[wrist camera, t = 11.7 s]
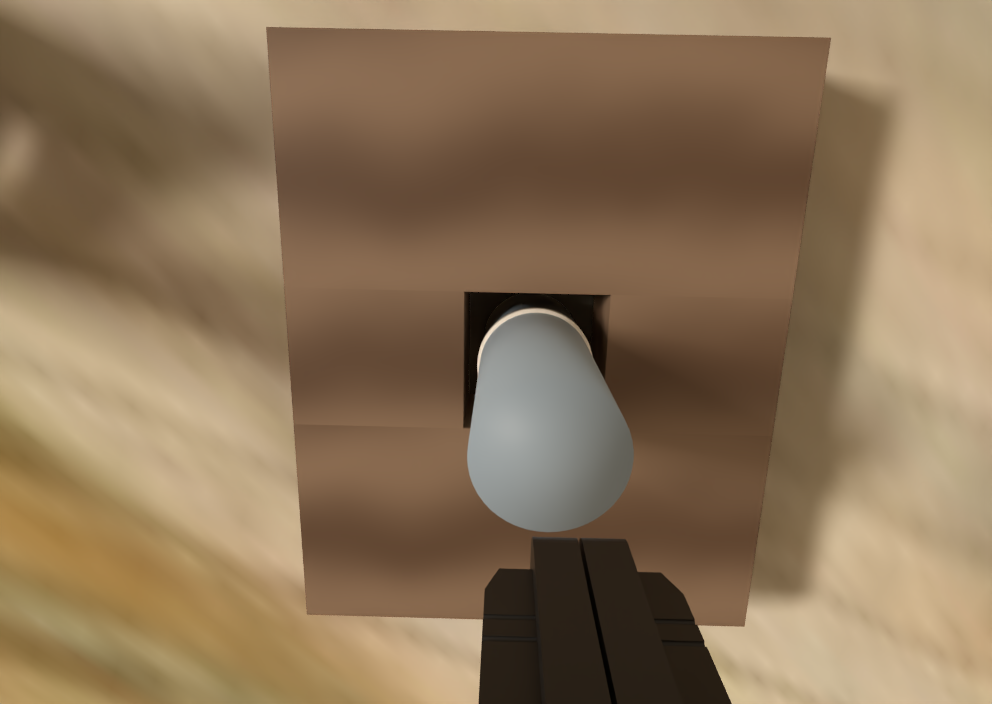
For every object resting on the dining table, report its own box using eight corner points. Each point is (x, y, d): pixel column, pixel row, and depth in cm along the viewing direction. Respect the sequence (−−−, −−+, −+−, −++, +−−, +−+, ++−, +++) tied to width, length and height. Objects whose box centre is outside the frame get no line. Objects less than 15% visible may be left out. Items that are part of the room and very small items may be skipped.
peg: (482, 289, 26) (463, 372, 14) (582, 291, 26) (645, 377, 14) (480, 384, 27) (462, 533, 15) (577, 386, 27) (631, 537, 15)
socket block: (305, 53, 24) (266, 27, 20) (777, 62, 23) (831, 37, 20) (333, 558, 29) (306, 614, 25) (712, 568, 29) (744, 626, 25)
